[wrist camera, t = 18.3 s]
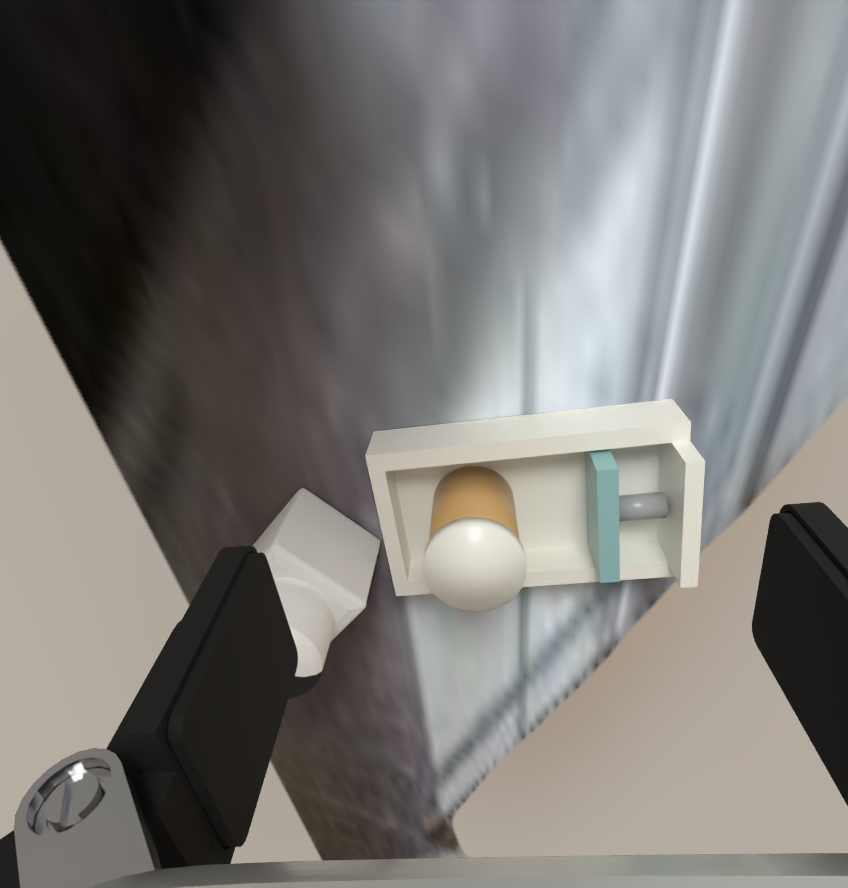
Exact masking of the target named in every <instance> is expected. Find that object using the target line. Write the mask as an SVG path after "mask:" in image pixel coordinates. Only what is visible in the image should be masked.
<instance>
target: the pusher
mask: <svg viewBox="0 0 848 888" xmlns="http://www.w3.org/2000/svg"><path fill="white" fill-rule="evenodd" d="M585 468H586V494H587V521H588V544H589V548H590V551H591V554H592V558H593V561H594V564H595V568H596V571H597V575H598V578H599V581H600V583H608V582H620V543H619V522H621V521H633V520H645V519H657V518H666V517H667V515H668V505H667V500H666V496H665V494H664V492H653V493H641V494H630V495H619V468H618V466H617V464H616V462H615V460H614V458H613V455H612V453H611V451H610V449H605V450H595V451H585Z"/></svg>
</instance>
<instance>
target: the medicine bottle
mask: <svg viewBox="0 0 848 888" xmlns="http://www.w3.org/2000/svg"><path fill="white" fill-rule="evenodd" d="M380 545H381V543H380V540H379V539H378V538H376V537H375V536H373V535H372V534H371V533H369V532H368V531H366V530H365V529H363V528H362V527H360V526H359V525H357V524H356V523H355V522H353V521H352V520H350V519H349V518H347V517H346V516H344V515H343V514H341V513H340V512H338V511H337V510H336V509H334V508H333V507H331V506H330V505H328V504H327V503H325V502H324V501H322V500H321V499H320V498H318V497H317V496H315V495H314V494H312V493H311V492H309V491H308V490H306V489H304V488H301V489H300V490H298V492H297V493H296V494H295V495H294V496H293V498H292V499H291V500H290V501H289V502H288V504H287V505H286V506H285V507H284V508H283V510H282V511H281V512H280V513H279V514H278V516H277V517H276V518H275V519H274V520H273V522H272V523H271V524H270V525H269V526H268V528H267V529H266V530H265V531H264V532H263V534H262V535H261V536H260V537H259V538H258V540H257V541H256V542H255V543H254V544H253V546H254V547H255V549H256V550H257V552H258V553H260V552H262V553H264V554H265V555H266V558H267V560H268V563H269V566H270V569H271V572H272V575H273V578H274V581H275V584H276V587H277V590H278V593H279V596H280V600H281V603H282V606H283V609H284V612H285V615H286V618H287V621H288V624H289V627H290V630H291V633H292V636H293V639H294V642H295V645H296V648H297V652H298V665H297V670H296V673H295V677H294V680H293V683H292V687H291V690H290V693H289V697H288V699H290V698H294V697H297V696H299V695H301V694H303V693H306V692H307V691H309V690H310V689H312V688H313V687H314V686H315V685H316V684H317V682H318V681H319V679H320V677H321V674H322V670H323V667H324V663H325V660H326V656H327V653H328V649H329V646H330V642H331V641H332V640H333V639H334V638H335V637H336V636H337V635H338V634H339V633H340V632H341V631H342V630H343V629H344V628H345V627H346V626H347V625H348V624H349V623H350V622H351V621H352V620H353V619H354V618H356V617H357V616H358V615H359V614H360V613H361V612H362V611H363V610H364V609H365V607H366V605H367V602H368V597H369V593H370V589H371V584H372V580H373V576H374V571H375V567H376V563H377V558H378V554H379V549H380Z"/></svg>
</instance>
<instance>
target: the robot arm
mask: <svg viewBox="0 0 848 888" xmlns="http://www.w3.org/2000/svg"><path fill="white" fill-rule="evenodd" d="M752 632H753V637H754V639H755V642H756V645H757V647H758V648H759V650H760V652H761V654H762V655H763V657H764V659H765V661H766V662H767V664H768V666H769V668H770V669H771V671H772V673H773V675H774V676H775V678H776V680H777V682H778V684H779V685H780V687H781V689H782V691H783V692H784V694H785V696H786V698H787V699H788V701H789V703H790V705H791V707H792V708H793V710H794V712H795V714H796V715H797V717H798V719H799V721H800V722H801V724H802V726H803V728H804V730H805V731H806V733H807V735H808V736H809V738H810V740H811V742H812V744H813V745H814V747H815V749H816V751H817V752H818V754H819V756H820V758H821V760H822V761H823V763H824V765H825V766H826V768H827V770H828V772H829V774H830V775H831V777H832V779H833V781H834V782H835V784H836V786H837V788H838V790H839V791H840V793H841V795H842V797H843V798H844V800H845V802H846V804H847V805H848V528H847V527H846V526H845V525H844V524H843V523H842V522H841V520H840V519H839V518H838V517H837V516H836V515H835V514H834V513H833V512H832V511H831V510H830V509H829V508H828V507H827V506H826V505H825V504H823V503H820V502H814V503H800V504H787V505H784V506H783V507H782V508H781V510H780V513H778V514H773V515H772V517H771V519H770V523H769V529H768V535H767V540H766V546H765V552H764V558H763V563H762V569H761V575H760V580H759V586H758V592H757V598H756V603H755V609H754V615H753V621H752ZM297 665H298V652H297V648H296V645H295V642H294V639H293V636H292V633H291V630H290V627H289V624H288V621H287V618H286V615H285V612H284V609H283V606H282V603H281V600H280V596H279V593H278V590H277V587H276V584H275V581H274V578H273V575H272V572H271V569H270V566H269V563H268V560H267V558H266V555H265V554H264V553H262V552H260V553H258V552H257V550H256V549H255V547H254V546H241V547H228V548H223V549H222V550H221V551H220V552H219V554H218V556H217V557H216V559H215V561H214V563H213V565H212V566H211V568H210V570H209V572H208V574H207V575H206V577H205V579H204V581H203V583H202V584H201V586H200V588H199V590H198V592H197V593H196V595H195V597H194V599H193V601H192V602H191V604H190V606H189V608H188V610H187V611H186V613H185V615H184V617H183V619H182V620H181V621H180V622H179V623H178V624H177V625H176V627H175V628H174V629H173V632H172V633H171V635H170V637H169V638H168V640H167V642H166V644H165V646H164V647H163V649H162V651H161V653H160V654H159V656H158V658H157V660H156V661H155V663H154V665H153V667H152V669H151V670H150V672H149V674H148V676H147V678H146V679H145V681H144V683H143V685H142V686H141V688H140V690H139V692H138V694H137V695H136V697H135V699H134V701H133V703H132V704H131V706H130V708H129V710H128V711H127V713H126V715H125V717H124V718H123V720H122V722H121V724H120V726H119V727H118V729H117V731H116V733H115V735H114V736H113V738H112V740H111V742H110V743H109V745H108V747H107V749H97V748H93V749H88V750H85V751H80V752H77V753H75V754H73V755H71V756H69V757H67V758H65V759H63V760H61V761H60V762H58V763H57V764H55V765H54V766H53V767H51V768H50V769H48V770H47V771H46V772H45V773H44V774H43V775H42V776H41V777H40V778H39V779H38V780H37V781H36V782H35V783H34V784H33V785H32V786H31V788H30V789H29V790H28V792H27V793H26V795H25V796H24V797H23V799H22V801H21V803H20V805H19V808H18V810H17V812H16V815H15V824H14V831H12V832H11V833H9V834H8V835H6V836H5V837H3V838H2V839H0V888H848V853H799V854H797V853H792V854H702V855H701V854H696V855H695V854H694V855H693V854H692V855H611V856H547V857H546V856H542V857H485V858H427V859H380V860H332V861H292V862H267V863H244V864H230V863H231V859H232V856H233V853H234V850H235V847H237V846H238V847H241V846H242V845H243V844H244V842H245V840H246V838H247V835H248V832H249V828H250V825H251V822H252V818H253V815H254V811H255V808H256V805H257V801H258V798H259V794H260V791H261V788H262V785H263V781H264V778H265V774H266V771H267V768H268V764H269V761H270V758H271V754H272V751H273V747H274V744H275V741H276V737H277V734H278V731H279V727H280V724H281V720H282V717H283V714H284V710H285V707H286V704H287V700H288V697H289V693H290V690H291V687H292V683H293V680H294V677H295V673H296V670H297Z"/></svg>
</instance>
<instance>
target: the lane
mask: <svg viewBox="0 0 848 888" xmlns="http://www.w3.org/2000/svg"><path fill="white" fill-rule="evenodd" d="M690 430H691V422H690V420H689V419H688V418H687V417H686V415H685V414H684V413H683V412H682V410H681V409H680V408H679V407H678V405H677V404H676V403H675V402H674V400H673V399H666V400H657V401H648V402H639V403H630V404H621V405H612V406H602V407H593V408H584V409H575V410H566V411H557V412H547V413H538V414H529V415H520V416H511V417H502V418H492V419H483V420H474V421H465V422H456V423H447V424H438V425H428V426H419V427H410V428H401V429H392V430H383V431H374V432H373V435H372V438H371V441H370V444H369V447H368V449H367V452H366V455H365V457H366V462H367V466H368V471H369V475H370V480H371V484H372V489H373V493H374V498H375V503H376V507H377V512H378V516H379V521H380V525H381V530H382V534H383V539H384V543H385V548H386V552H387V557H388V562H389V566H390V571H391V575H392V580H393V584H394V589H395V593H396V596H407V595H421V594H433V593H432V592H431V591H430V589H429V588H428V586H427V584H426V582H425V579H424V576H423V560H424V552H425V548H426V545H427V543H428V541H429V536H430V526H431V516H432V506H433V497H434V492H435V489H436V487H437V485H438V483H439V482H440V480H441V479H442V478H443V477H444V476H446V475H447V474H448V473H450V472H451V471H453V470H455V469H458V468H461V467H466V466H481V467H485V468H489V469H491V470H493V471H495V472H497V473H499V474H500V475H501V476H502V477H503V478H504V479H505V480H506V481H507V482H508V483H509V485H510V487H511V489H512V492H513V497H514V504H515V511H516V519H517V526H518V533H519V540H520V541H521V543H522V546H523V548H524V552H525V558H526V565H527V574H526V579H525V582H524V585H523V587H534V586H548V585H562V584H576V583H590V582H600V581H599V578H598V575H597V571H596V568H595V564H594V561H593V558H592V554H591V551H590V548H589V544H588V521H587V494H586V468H585V451H595V450H605V449H610V451H611V453H612V455H613V458H614V460H615V462H616V464H617V466H618V468H619V495H630V494H641V493H653V492H664V494H665V496H666V500H667V505H668V515H667V517H666V518H657V519H645V520H633V521H621V522H619V543H620V580H632V579H646V578H660V577H674V576H675V578H676V580H677V582H678V584H679V587H680V588H687V587H697V586H698V570H699V554H700V538H701V522H702V506H703V489H704V473H705V460H704V459H703V458H702V456H701V455H700V454H699V452H698V451H697V450H696V448H695V447H694V446H693V444H692V443H691V442H690Z"/></svg>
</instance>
